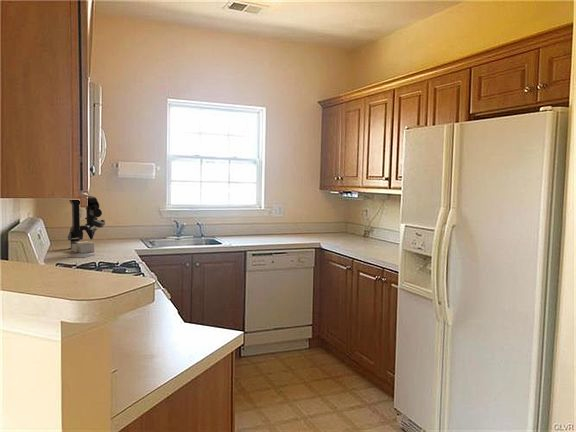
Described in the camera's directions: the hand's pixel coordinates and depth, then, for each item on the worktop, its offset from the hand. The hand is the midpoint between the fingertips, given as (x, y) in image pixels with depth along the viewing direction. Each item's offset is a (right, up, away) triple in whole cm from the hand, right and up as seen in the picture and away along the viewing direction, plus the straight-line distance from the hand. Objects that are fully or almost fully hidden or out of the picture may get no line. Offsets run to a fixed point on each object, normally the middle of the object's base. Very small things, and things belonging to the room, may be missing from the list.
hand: (91, 239), depth 325 cm
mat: (-2, -10, -12) cm, 16 cm away
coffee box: (-2, -6, +1) cm, 6 cm away
